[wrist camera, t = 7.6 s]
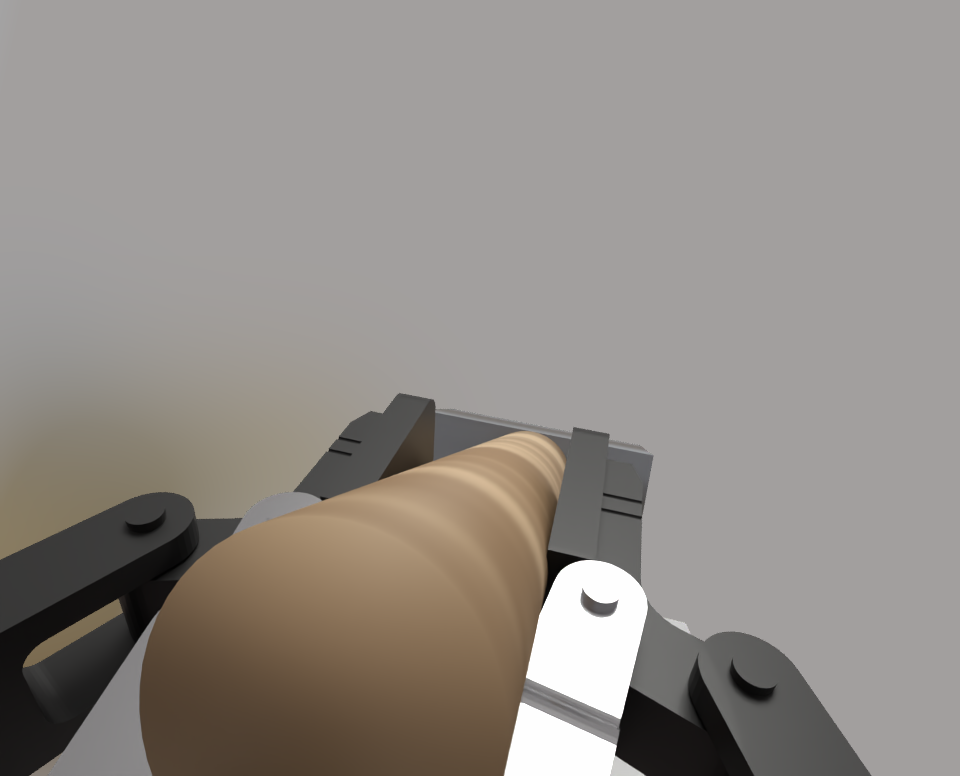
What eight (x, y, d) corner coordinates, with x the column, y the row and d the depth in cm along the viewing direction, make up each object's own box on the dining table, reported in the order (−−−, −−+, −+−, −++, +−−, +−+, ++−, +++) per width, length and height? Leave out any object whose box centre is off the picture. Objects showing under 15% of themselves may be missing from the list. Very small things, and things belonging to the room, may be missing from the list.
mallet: (840, 1115, 4) (928, 658, 4) (-135, 755, 5) (-73, 420, 5) (626, 517, 25) (640, 445, 25) (440, 477, 26) (452, 409, 26)
